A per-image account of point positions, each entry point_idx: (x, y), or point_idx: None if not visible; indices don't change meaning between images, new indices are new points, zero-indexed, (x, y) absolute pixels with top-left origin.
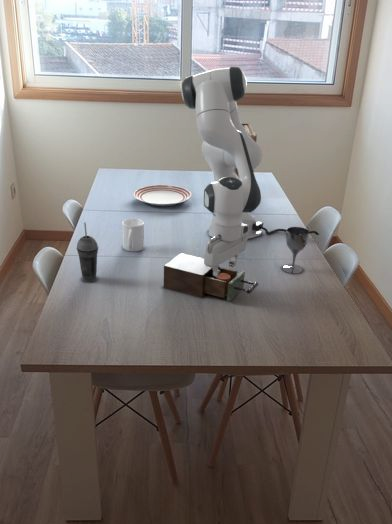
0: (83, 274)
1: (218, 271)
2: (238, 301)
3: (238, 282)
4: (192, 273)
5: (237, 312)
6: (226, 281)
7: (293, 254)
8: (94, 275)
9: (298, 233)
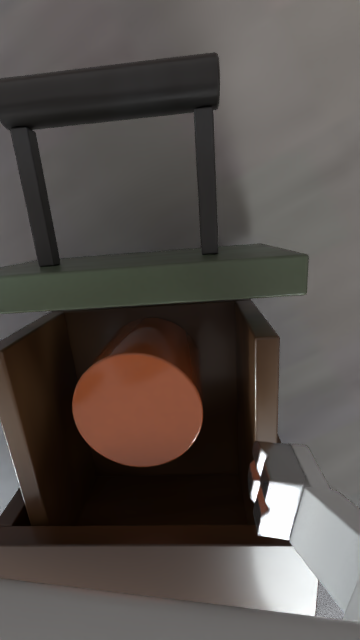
0: None
1: (314, 486)
2: (192, 213)
3: (113, 262)
4: (313, 611)
5: (343, 139)
6: (172, 353)
7: None
8: None
9: None
